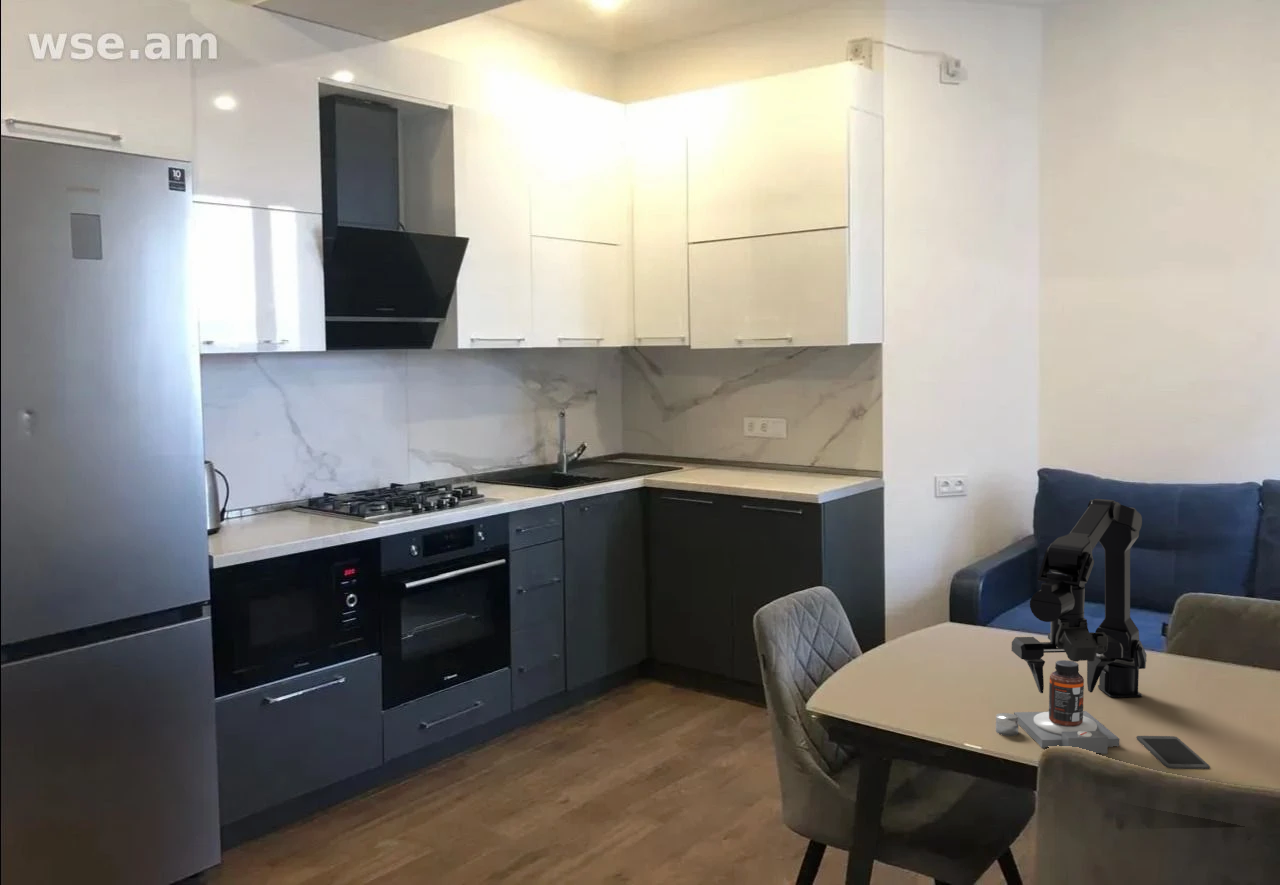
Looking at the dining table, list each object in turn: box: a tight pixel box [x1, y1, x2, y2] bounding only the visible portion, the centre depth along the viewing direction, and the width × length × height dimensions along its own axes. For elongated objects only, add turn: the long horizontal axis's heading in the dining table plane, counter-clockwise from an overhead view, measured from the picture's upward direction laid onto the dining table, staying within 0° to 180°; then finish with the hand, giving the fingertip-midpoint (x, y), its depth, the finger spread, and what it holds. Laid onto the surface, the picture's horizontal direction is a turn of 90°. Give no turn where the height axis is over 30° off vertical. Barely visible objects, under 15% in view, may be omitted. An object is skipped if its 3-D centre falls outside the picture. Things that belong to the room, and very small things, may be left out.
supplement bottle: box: [1048, 659, 1085, 726], centre depth 192 cm, size 6×6×11 cm
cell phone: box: [1136, 735, 1211, 770], centre depth 183 cm, size 7×14×1 cm, turn 176°
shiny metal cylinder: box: [995, 712, 1019, 737], centre depth 194 cm, size 4×4×3 cm
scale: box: [1013, 710, 1120, 755], centre depth 191 cm, size 14×17×3 cm
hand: (1065, 692), depth 192 cm, fingers open, 9 cm apart
